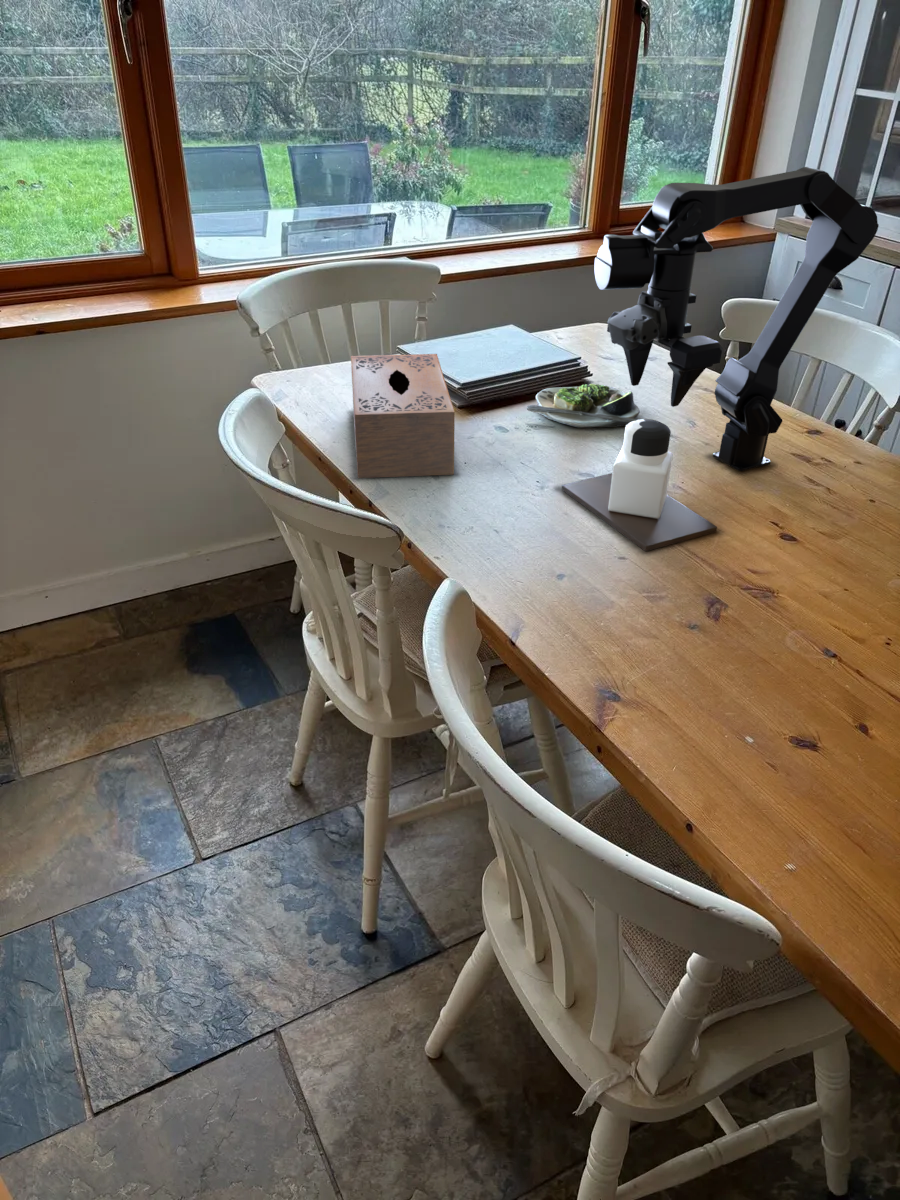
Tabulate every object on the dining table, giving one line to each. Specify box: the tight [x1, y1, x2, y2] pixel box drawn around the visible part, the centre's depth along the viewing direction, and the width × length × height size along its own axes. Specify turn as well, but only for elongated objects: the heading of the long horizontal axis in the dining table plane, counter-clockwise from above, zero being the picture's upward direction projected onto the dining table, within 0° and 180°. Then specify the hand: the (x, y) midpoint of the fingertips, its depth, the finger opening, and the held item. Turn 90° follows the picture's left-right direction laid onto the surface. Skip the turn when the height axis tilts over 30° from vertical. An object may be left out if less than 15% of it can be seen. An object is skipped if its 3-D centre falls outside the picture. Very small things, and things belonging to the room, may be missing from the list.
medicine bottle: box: [608, 418, 674, 519], centre depth 124 cm, size 7×7×12 cm
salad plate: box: [526, 383, 640, 428], centre depth 157 cm, size 19×18×5 cm
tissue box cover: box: [350, 353, 456, 479], centre depth 144 cm, size 26×14×10 cm, turn 6°
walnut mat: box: [561, 472, 718, 552], centre depth 128 cm, size 12×20×1 cm, turn 27°
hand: (654, 395), depth 132 cm, fingers open, 9 cm apart
